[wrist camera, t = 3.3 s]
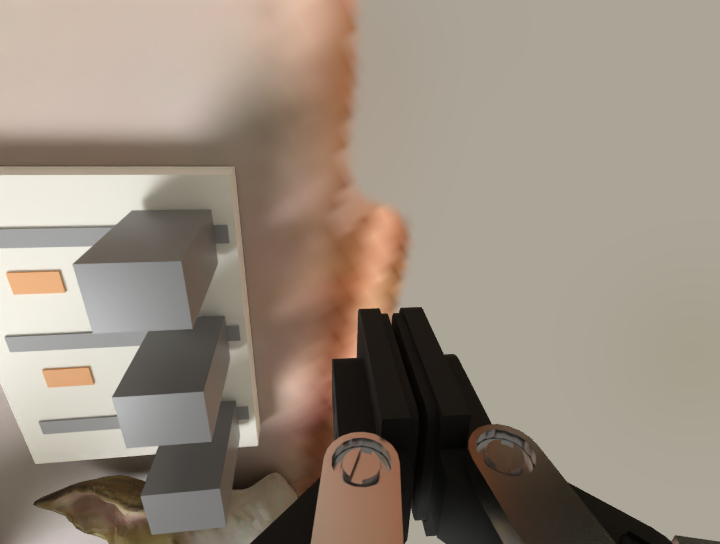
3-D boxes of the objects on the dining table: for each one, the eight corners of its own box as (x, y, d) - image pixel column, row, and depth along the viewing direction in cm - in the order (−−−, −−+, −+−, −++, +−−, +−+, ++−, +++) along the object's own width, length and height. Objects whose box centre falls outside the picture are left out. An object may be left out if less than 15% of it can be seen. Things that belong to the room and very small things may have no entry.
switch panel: (-60, 166, 17) (-92, 175, 16) (234, 166, 18) (229, 175, 17) (50, 441, 24) (34, 465, 22) (260, 425, 25) (258, 447, 24)
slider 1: (132, 210, 17) (72, 264, 12) (211, 209, 17) (181, 261, 13) (143, 265, 18) (92, 333, 13) (218, 263, 18) (192, 329, 14)
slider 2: (154, 318, 19) (111, 397, 15) (224, 315, 19) (203, 391, 15) (164, 362, 20) (126, 448, 16) (230, 358, 20) (211, 441, 16)
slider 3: (173, 404, 21) (140, 495, 17) (235, 400, 22) (219, 488, 17) (180, 440, 22) (151, 534, 18) (240, 435, 23) (226, 527, 18)
